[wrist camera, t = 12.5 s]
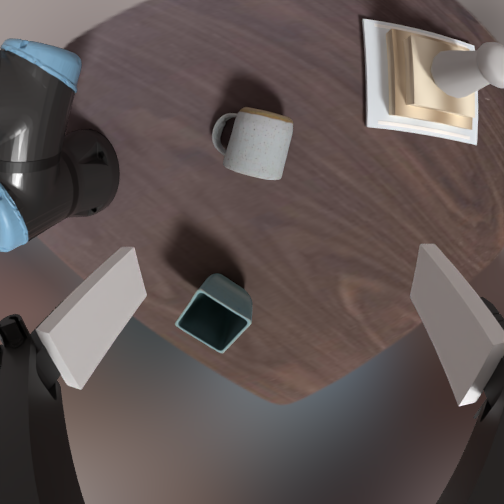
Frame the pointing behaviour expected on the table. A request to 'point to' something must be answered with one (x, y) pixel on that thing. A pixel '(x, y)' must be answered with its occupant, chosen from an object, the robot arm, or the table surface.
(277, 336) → the table surface
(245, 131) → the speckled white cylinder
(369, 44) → the board
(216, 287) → the flower pot
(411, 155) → the table surface
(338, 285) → the table surface
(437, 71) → the salt shaker
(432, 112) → the birch plinth
